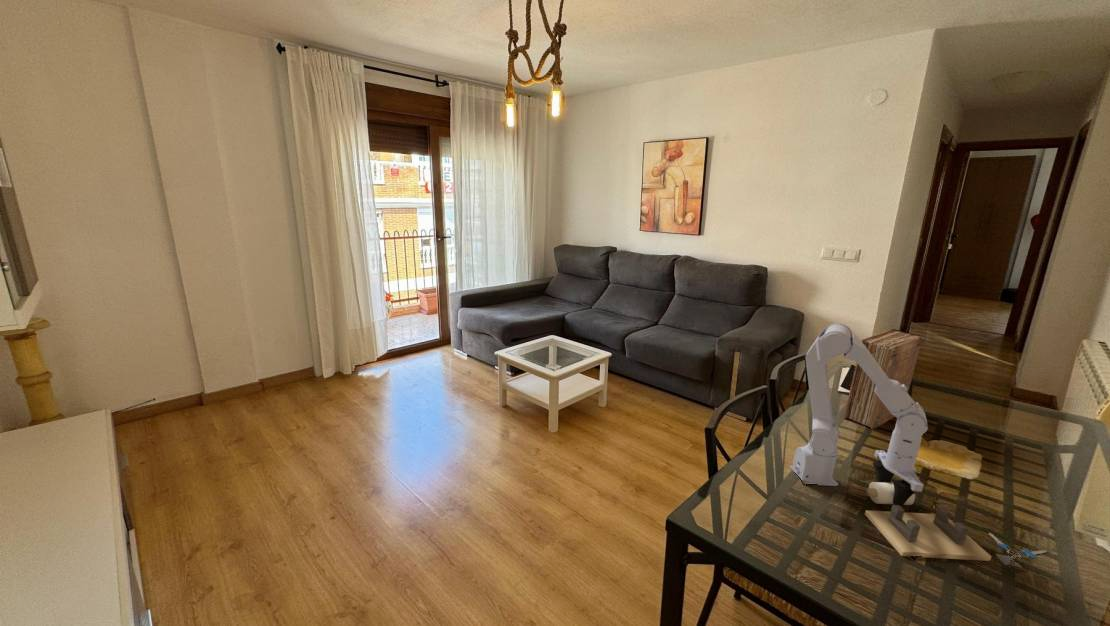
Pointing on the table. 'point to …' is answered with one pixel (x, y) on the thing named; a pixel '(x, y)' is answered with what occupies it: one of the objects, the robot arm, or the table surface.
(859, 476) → the table surface
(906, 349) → the brown upright rectangular block
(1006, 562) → the key chain
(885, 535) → the roll holder
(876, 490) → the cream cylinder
